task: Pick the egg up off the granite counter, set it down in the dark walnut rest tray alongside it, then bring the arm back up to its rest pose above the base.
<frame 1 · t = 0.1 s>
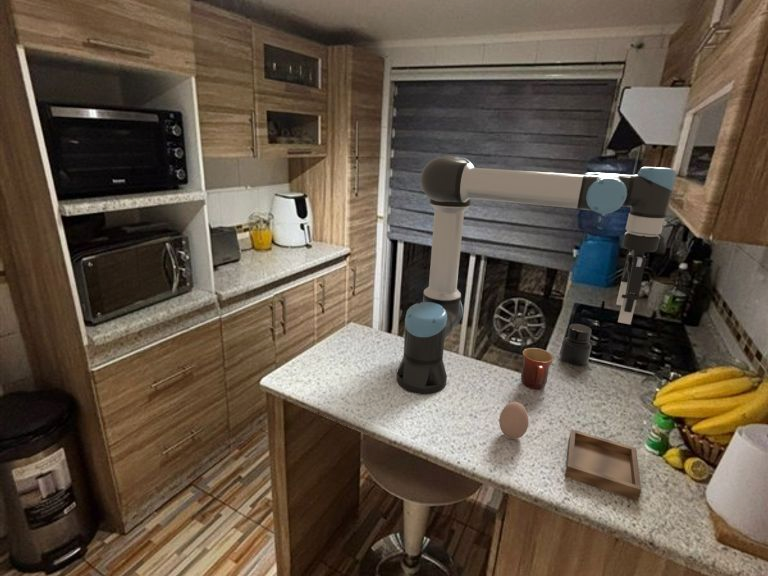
hand: (622, 313, 109), 28 cm above the counter, fingers open, 13 cm apart
rest tray: (600, 467, 95), on the counter
egg: (511, 437, 104), on the counter
ink bottle: (573, 360, 142), on the counter
mug: (533, 388, 125), on the counter
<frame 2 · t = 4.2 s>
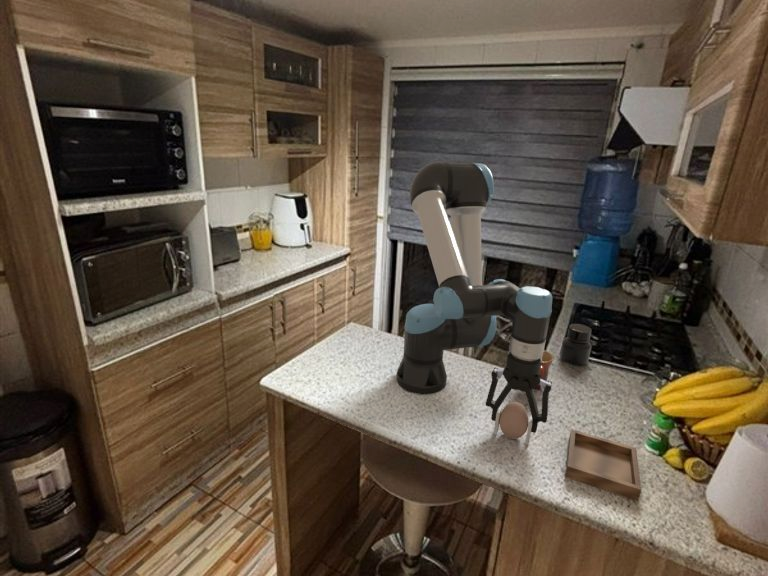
hand: (511, 436, 103), 0 cm above the counter, fingers open, 7 cm apart
egg: (511, 437, 104), on the counter, touching gripper
everything else where it was.
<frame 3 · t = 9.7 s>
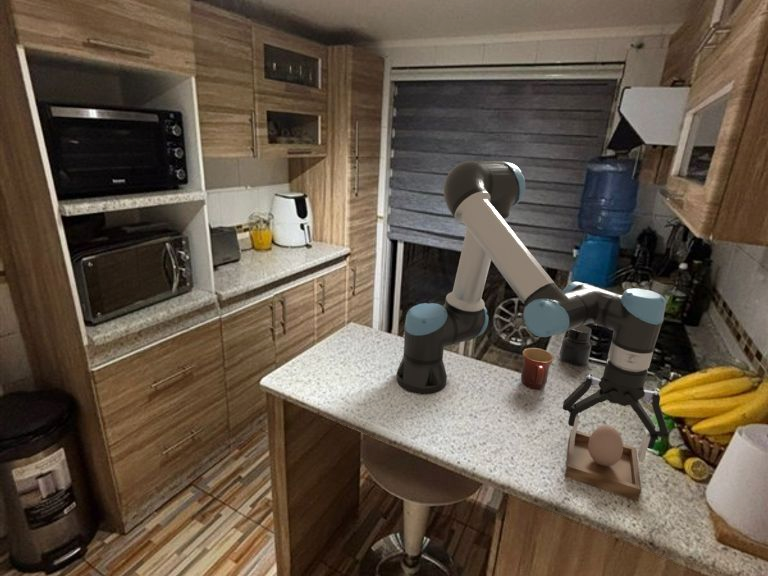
hand: (605, 447, 93), 6 cm above the counter, fingers open, 13 cm apart
egg: (601, 464, 94), point 1 cm above the counter, touching rest tray
everything else where it was.
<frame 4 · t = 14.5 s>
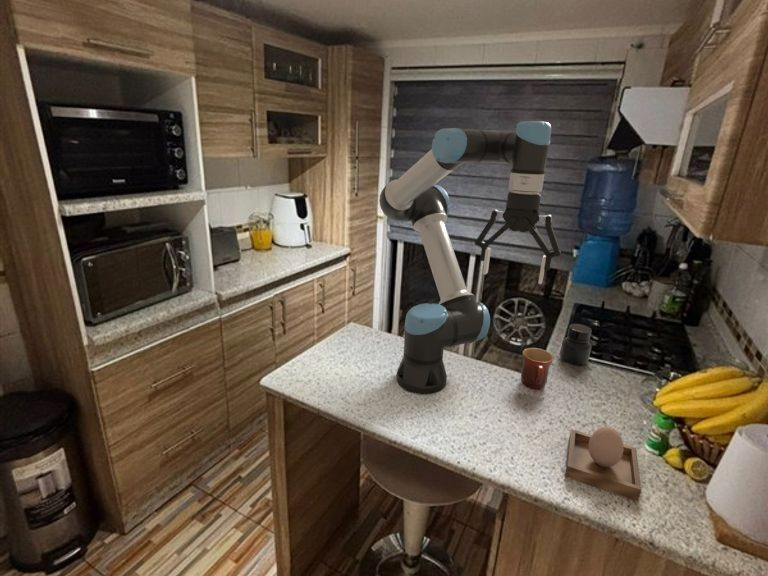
hand: (512, 277, 105), 37 cm above the counter, fingers open, 13 cm apart
nothing on the counter moved.
at the end: egg inside the target area on the rest tray (0.1 cm from its centre), point 0.8 cm above the rest tray's base; egg touching rest tray; the gripper is holding nothing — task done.
